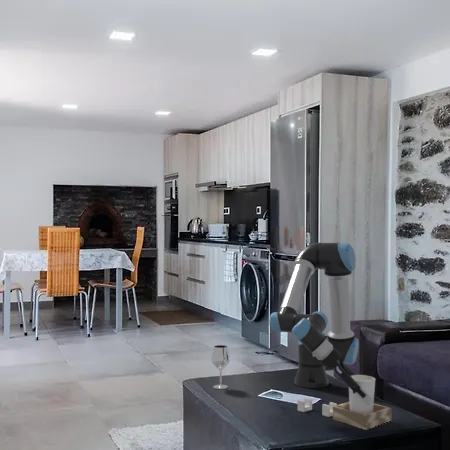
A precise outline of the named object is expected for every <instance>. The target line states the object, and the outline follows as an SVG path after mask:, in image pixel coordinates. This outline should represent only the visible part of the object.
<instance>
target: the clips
mask: <svg viewBox="0 0 450 450" xmlns="http://www.w3.org/2000/svg"><path fill="white" fill-rule="evenodd" d="M336 405H338V404H337V403H335V402H333V401H329V403H328V404H326V403H323V404H322V406H321V407H322V409H321V410H322V412H321V413H322V416H325V417H328V418H329V417H333V406H336ZM312 410H313V399H312V398H309V397H305V398H304V400H303V399H297V411H298V412H302V413H305V412H308V411H312Z"/></svg>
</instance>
